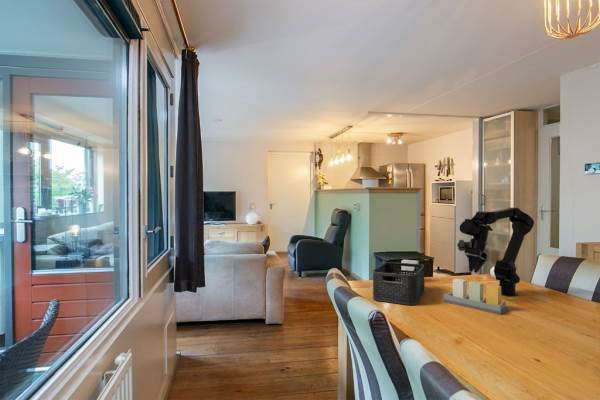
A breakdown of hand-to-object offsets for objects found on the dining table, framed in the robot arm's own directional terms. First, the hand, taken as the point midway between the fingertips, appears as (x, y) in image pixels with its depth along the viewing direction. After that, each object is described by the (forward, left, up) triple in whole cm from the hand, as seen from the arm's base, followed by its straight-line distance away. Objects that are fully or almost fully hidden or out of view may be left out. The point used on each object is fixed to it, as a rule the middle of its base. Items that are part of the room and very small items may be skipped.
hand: (473, 272), depth 155 cm
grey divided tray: (+6, +7, -12) cm, 15 cm away
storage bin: (+28, -16, -13) cm, 34 cm away
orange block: (+2, +13, -11) cm, 17 cm away
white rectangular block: (+8, 0, -11) cm, 13 cm away
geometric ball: (-41, -27, -13) cm, 51 cm away
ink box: (+9, -36, -13) cm, 39 cm away
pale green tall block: (+5, +7, -11) cm, 14 cm away
